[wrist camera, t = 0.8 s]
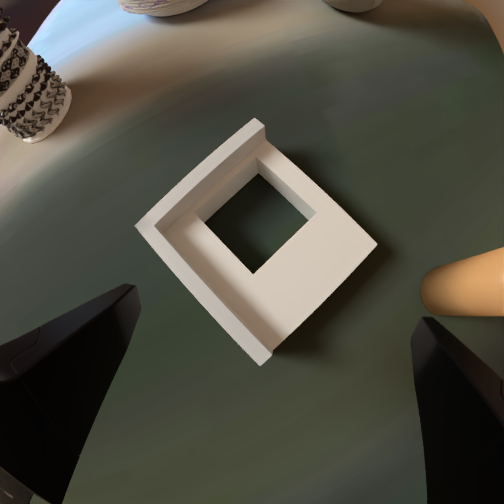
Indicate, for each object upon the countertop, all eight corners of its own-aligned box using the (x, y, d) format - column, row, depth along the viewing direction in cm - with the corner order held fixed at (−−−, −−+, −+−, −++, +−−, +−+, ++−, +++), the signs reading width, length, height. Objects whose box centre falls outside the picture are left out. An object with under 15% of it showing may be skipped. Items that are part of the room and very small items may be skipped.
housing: (366, 251, 23) (386, 238, 18) (263, 353, 23) (259, 366, 18) (258, 150, 26) (254, 117, 21) (160, 240, 25) (134, 225, 20)
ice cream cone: (466, 289, 22) (583, 270, 9) (440, 325, 22) (559, 332, 9) (439, 256, 23) (552, 213, 10) (411, 291, 23) (526, 273, 9)
